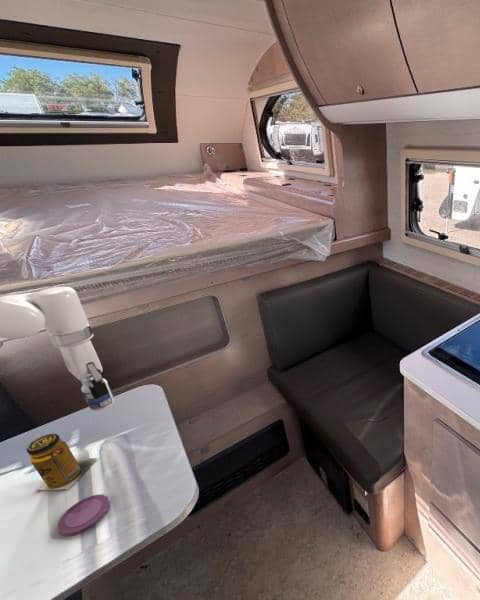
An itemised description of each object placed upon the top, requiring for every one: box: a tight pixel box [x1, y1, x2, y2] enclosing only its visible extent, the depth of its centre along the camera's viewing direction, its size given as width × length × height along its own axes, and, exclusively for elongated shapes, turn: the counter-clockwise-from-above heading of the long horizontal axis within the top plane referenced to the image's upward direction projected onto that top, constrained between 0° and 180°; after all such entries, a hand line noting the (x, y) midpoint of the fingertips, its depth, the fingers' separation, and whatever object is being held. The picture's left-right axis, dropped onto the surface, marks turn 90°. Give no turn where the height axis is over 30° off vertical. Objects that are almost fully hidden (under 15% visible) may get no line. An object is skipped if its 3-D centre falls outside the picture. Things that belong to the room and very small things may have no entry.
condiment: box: [26, 433, 98, 491], centre depth 77 cm, size 7×8×12 cm
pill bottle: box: [80, 374, 116, 412], centre depth 90 cm, size 5×5×10 cm
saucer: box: [56, 494, 111, 537], centre depth 70 cm, size 8×8×1 cm
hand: (96, 391), depth 90 cm, fingers closed on pill bottle, 5 cm apart
